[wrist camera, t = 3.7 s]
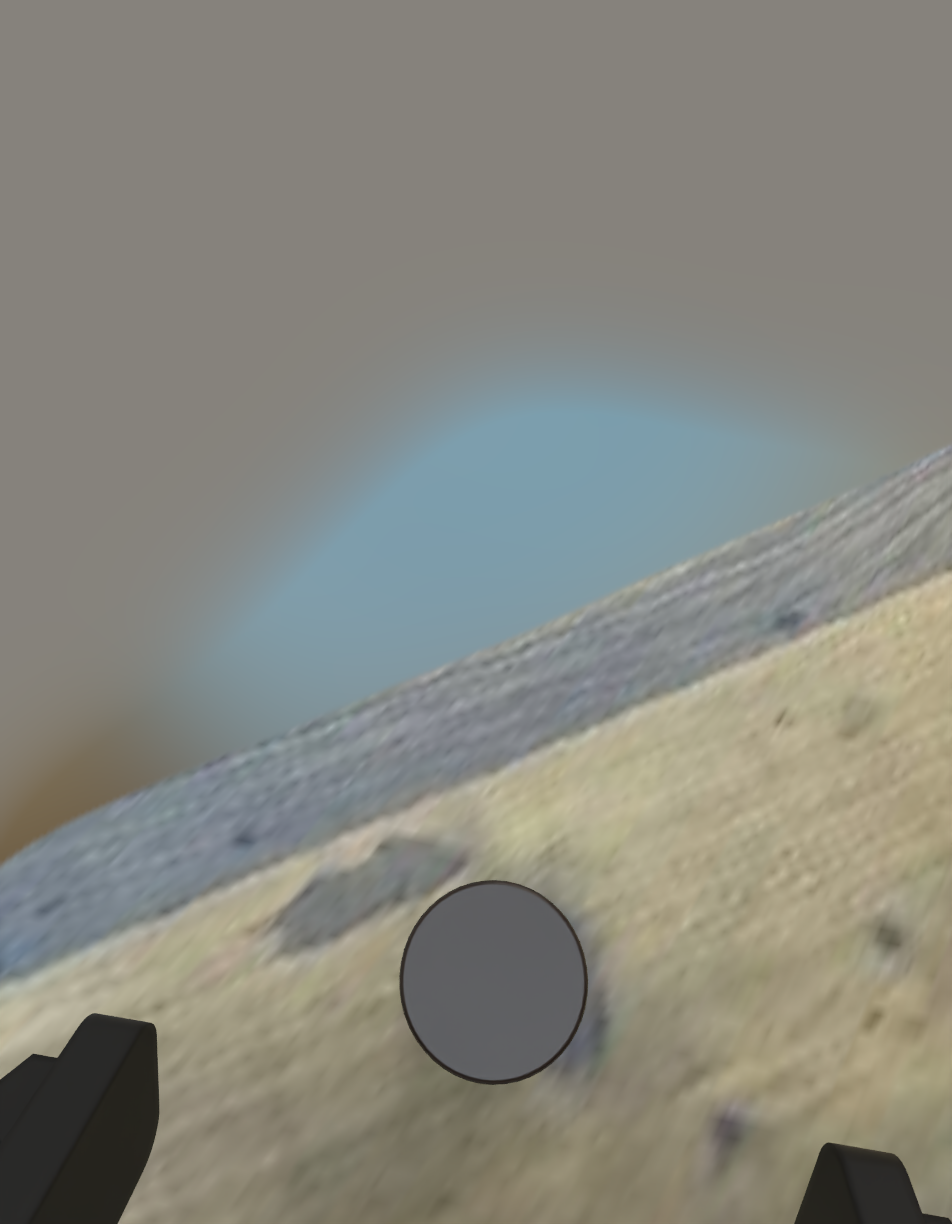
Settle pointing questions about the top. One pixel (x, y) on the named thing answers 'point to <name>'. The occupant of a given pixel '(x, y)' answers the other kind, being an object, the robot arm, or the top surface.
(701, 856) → the top surface
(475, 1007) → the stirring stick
